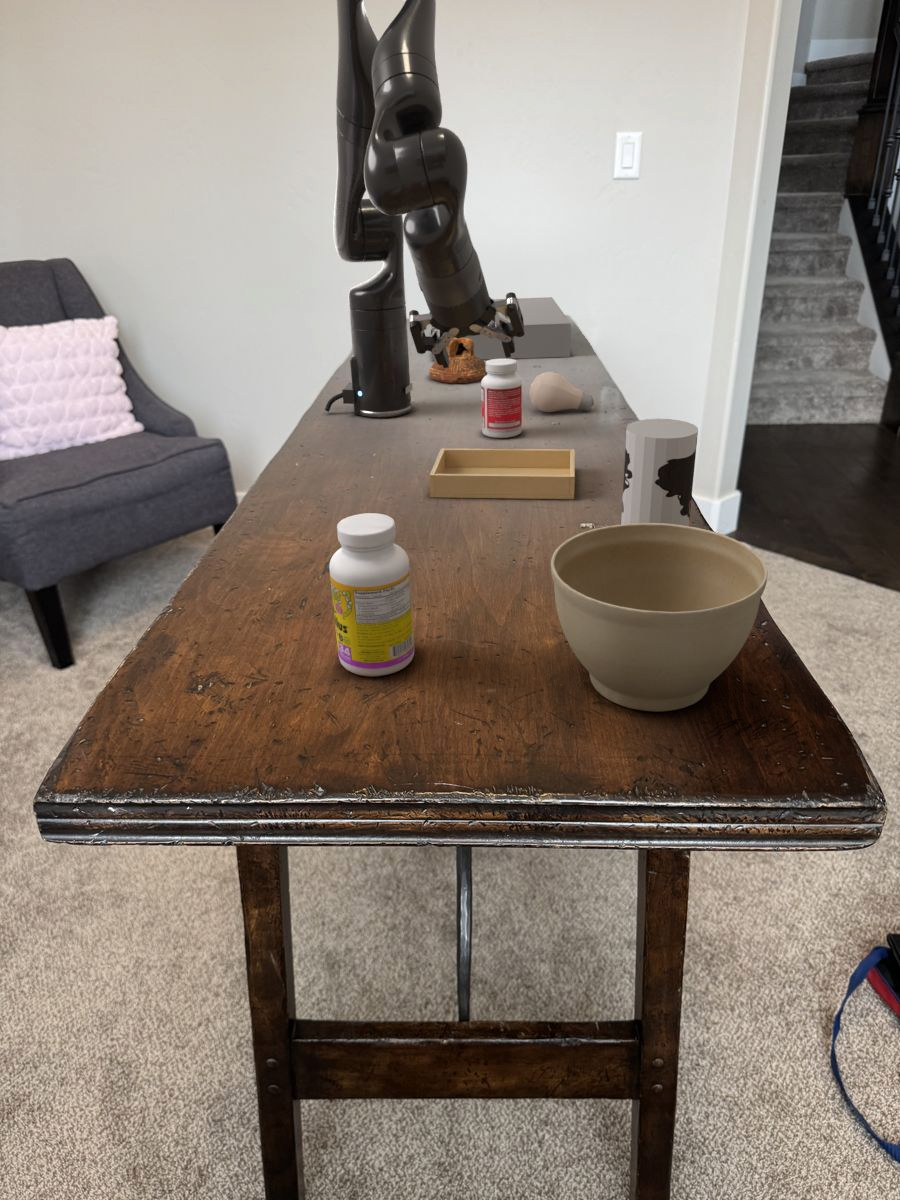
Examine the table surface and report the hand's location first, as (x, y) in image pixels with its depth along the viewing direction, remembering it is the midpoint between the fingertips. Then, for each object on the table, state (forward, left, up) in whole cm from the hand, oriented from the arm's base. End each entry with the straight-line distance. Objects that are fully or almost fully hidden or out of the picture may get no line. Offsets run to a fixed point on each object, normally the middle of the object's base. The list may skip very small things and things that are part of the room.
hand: (477, 357), depth 120 cm
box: (-4, +84, -14) cm, 86 cm away
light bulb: (+11, +26, -15) cm, 32 cm away
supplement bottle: (-4, -56, -15) cm, 58 cm away
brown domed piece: (-9, +51, -15) cm, 54 cm away
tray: (+4, -10, -14) cm, 18 cm away
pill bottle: (+2, +13, -15) cm, 19 cm away
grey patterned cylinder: (+21, -36, -15) cm, 45 cm away
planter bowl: (+19, -58, -15) cm, 63 cm away
